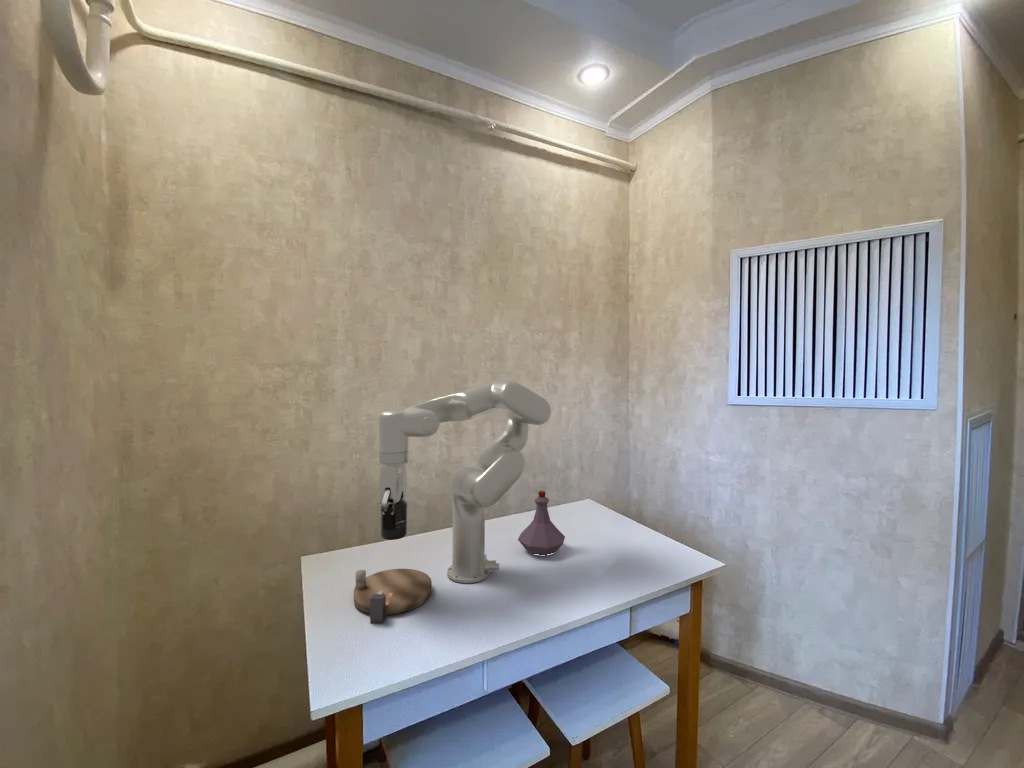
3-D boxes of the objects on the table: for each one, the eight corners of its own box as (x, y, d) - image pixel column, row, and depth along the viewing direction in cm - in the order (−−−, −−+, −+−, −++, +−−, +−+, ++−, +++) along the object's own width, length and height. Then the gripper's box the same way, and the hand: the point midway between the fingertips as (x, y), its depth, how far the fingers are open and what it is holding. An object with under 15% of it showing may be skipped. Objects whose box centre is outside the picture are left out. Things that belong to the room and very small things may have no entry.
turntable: (406, 568, 128) (406, 549, 128) (446, 593, 114) (446, 571, 114) (340, 592, 114) (340, 570, 114) (377, 624, 100) (377, 598, 100)
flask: (533, 537, 155) (534, 483, 155) (574, 548, 146) (575, 490, 146) (507, 553, 142) (507, 493, 141) (550, 566, 133) (551, 502, 132)
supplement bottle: (400, 541, 110) (399, 495, 109) (375, 539, 111) (375, 493, 111) (411, 531, 116) (411, 488, 116) (388, 530, 118) (388, 486, 117)
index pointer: (387, 615, 105) (387, 591, 105) (382, 623, 101) (382, 598, 101) (375, 614, 105) (375, 590, 105) (370, 623, 102) (370, 598, 101)
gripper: (390, 451, 122) (390, 513, 122) (367, 464, 104) (367, 536, 105) (416, 451, 121) (416, 513, 122) (397, 464, 104) (398, 537, 105)
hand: (394, 523), depth 113 cm, fingers closed on supplement bottle, 6 cm apart
